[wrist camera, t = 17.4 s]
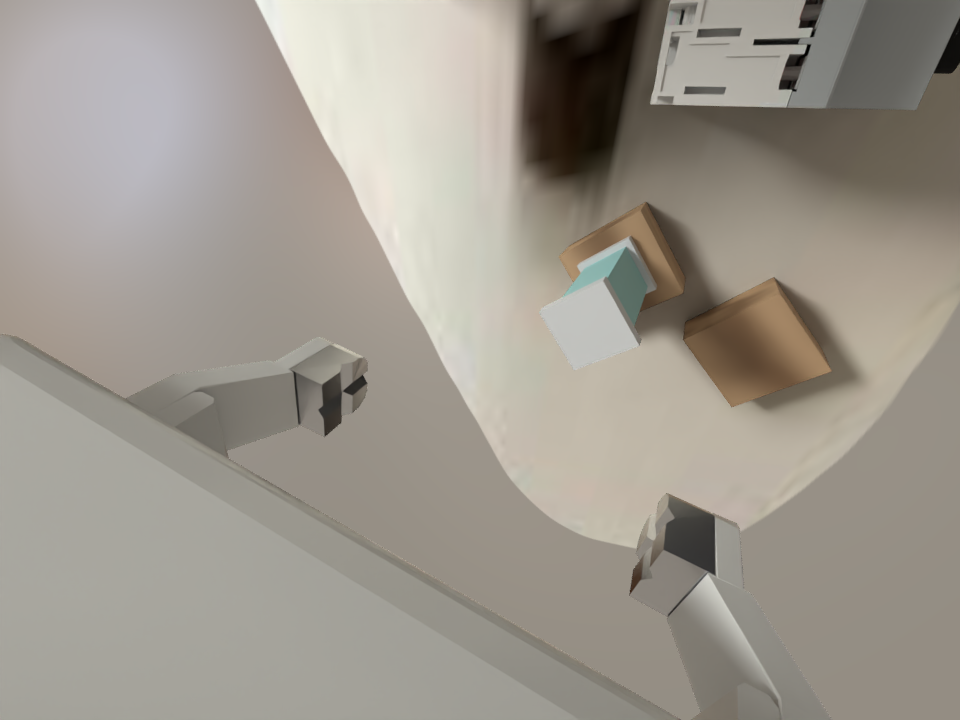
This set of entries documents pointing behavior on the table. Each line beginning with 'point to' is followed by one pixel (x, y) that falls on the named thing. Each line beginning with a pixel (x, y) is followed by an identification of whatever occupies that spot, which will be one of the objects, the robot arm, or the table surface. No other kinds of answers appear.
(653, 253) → the stand
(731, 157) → the table surface
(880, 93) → the circuit breaker
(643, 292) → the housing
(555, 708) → the robot arm
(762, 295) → the stand
